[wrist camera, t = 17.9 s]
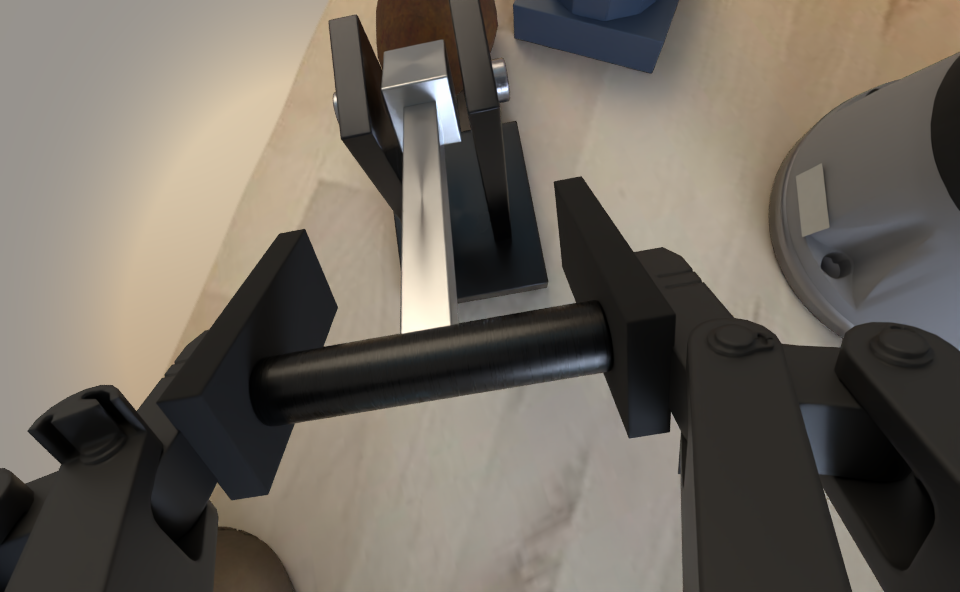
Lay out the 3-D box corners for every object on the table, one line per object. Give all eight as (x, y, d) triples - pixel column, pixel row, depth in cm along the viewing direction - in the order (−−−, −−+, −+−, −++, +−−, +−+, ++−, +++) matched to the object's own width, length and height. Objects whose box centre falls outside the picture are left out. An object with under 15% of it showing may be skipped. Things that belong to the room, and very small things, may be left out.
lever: (610, 395, 10) (618, 329, 8) (289, 447, 10) (226, 396, 8) (518, 89, 18) (511, 23, 16) (343, 125, 19) (317, 65, 17)
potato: (513, -8, 31) (509, -121, 24) (489, 135, 29) (478, 56, 23) (410, -14, 32) (379, -124, 25) (380, 125, 30) (338, 46, 23)
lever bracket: (547, 287, 27) (567, 182, 14) (410, 312, 28) (300, 233, 14) (517, 132, 29) (508, -92, 16) (390, 156, 30) (278, -40, 16)
